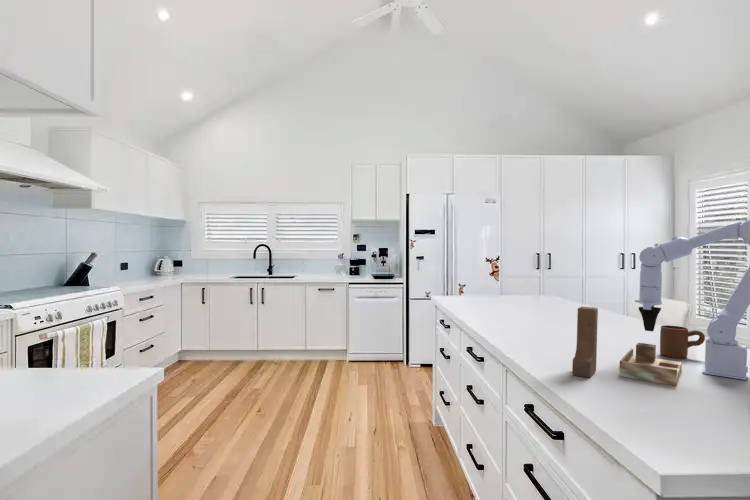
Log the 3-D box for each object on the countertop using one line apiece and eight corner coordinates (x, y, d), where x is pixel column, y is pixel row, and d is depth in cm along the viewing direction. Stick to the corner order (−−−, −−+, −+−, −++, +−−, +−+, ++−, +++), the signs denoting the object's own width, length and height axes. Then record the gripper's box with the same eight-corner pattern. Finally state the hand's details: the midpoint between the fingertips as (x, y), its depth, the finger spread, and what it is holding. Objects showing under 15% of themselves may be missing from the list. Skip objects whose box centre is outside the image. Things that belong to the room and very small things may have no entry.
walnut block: (655, 360, 133) (655, 344, 133) (653, 363, 129) (654, 347, 129) (637, 357, 136) (638, 342, 135) (635, 360, 132) (636, 345, 132)
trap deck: (681, 369, 131) (681, 355, 131) (676, 385, 115) (676, 370, 115) (630, 361, 139) (631, 348, 139) (619, 375, 123) (619, 361, 123)
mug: (703, 357, 146) (704, 328, 145) (705, 362, 139) (706, 332, 139) (659, 352, 152) (660, 324, 152) (659, 356, 146) (660, 327, 146)
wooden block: (589, 378, 120) (591, 311, 119) (571, 375, 122) (573, 309, 122) (596, 371, 127) (598, 307, 127) (579, 368, 130) (580, 306, 129)
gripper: (638, 284, 146) (637, 325, 146) (632, 287, 134) (630, 332, 135) (664, 285, 142) (663, 328, 142) (659, 289, 130) (658, 335, 130)
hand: (649, 330), depth 138 cm, fingers closed
